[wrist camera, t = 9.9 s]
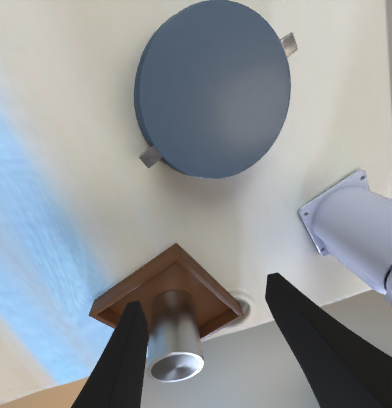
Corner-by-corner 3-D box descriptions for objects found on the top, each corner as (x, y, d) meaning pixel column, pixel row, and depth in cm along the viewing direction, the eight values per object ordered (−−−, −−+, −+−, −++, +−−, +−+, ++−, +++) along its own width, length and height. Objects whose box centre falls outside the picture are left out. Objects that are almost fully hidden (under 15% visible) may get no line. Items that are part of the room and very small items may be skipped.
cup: (202, 303, 26) (214, 364, 19) (170, 323, 27) (171, 387, 20) (176, 283, 23) (180, 345, 17) (142, 305, 24) (133, 372, 18)
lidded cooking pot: (290, 119, 17) (334, 120, 12) (185, 196, 19) (191, 222, 14) (230, -29, 12) (268, -112, 8) (98, 94, 14) (66, 85, 10)
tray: (239, 303, 28) (244, 315, 26) (171, 343, 30) (171, 358, 28) (176, 242, 21) (177, 254, 19) (94, 300, 23) (88, 315, 21)
